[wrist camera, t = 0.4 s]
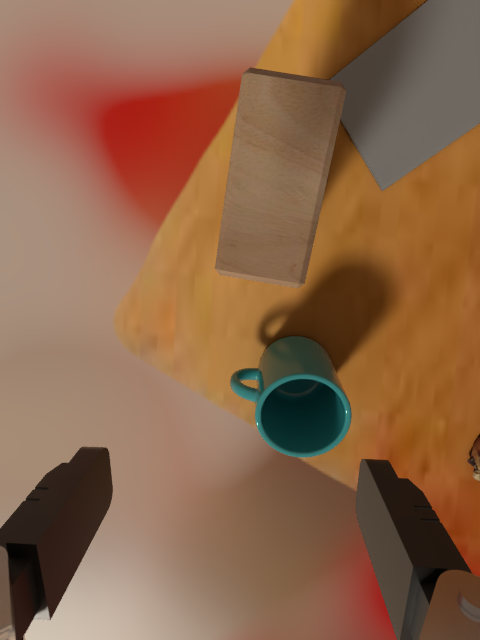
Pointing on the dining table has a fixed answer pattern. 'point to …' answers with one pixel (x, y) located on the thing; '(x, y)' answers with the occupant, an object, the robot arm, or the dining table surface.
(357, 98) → the mat
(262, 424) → the cup
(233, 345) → the dining table surface
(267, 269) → the decorative block
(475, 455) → the bread roll
